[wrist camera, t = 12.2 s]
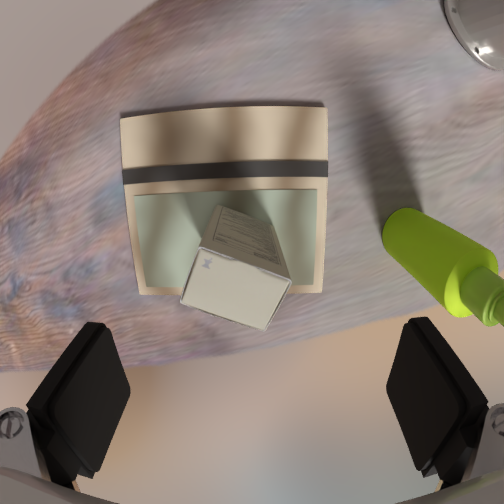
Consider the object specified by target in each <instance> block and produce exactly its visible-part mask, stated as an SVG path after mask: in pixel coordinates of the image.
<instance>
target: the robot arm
mask: <svg viewBox="0 0 504 504" xmlns="http://www.w3.org/2000/svg"><path fill="white" fill-rule="evenodd" d="M444 7H445V13H446V16H447V19H448V22H449V24H450V26H451V28H452V30H453V32H454V34H455V35H456V37H457V39H458V40H459V42H460V43H461V44H462V46H463V47H464V48H465V49H466V51H467V52H468V53H469V54H470V55H471V56H472V57H473V58H474V59H475V60H476V61H478V62H479V63H480V64H482V65H483V66H485V67H487V68H489V69H492V70H504V0H444ZM386 390H387V394H388V397H389V399H390V402H391V404H392V407H393V409H394V412H395V414H396V417H397V419H398V422H399V424H400V427H401V430H402V432H403V435H404V437H405V440H406V443H407V445H408V448H409V451H410V454H411V456H412V459H413V462H414V465H415V467H416V469H417V470H418V471H421V472H422V475H423V477H428V476H430V475H433V474H437V473H438V476H439V478H440V481H439V483H438V485H437V488H436V490H435V492H434V493H430V494H428V495H424V496H421V497H417V498H414V499H411V500H407V501H403V502H400V503H396V504H504V403H502V404H496V405H494V406H492V407H491V408H490V409H489V408H488V406H487V403H488V400H487V399H486V397H485V395H484V394H483V393H482V391H481V389H480V388H479V386H478V385H477V384H476V382H475V381H474V379H473V378H472V377H471V375H470V373H469V372H468V370H467V369H466V368H465V366H464V365H463V363H462V362H461V361H460V359H459V358H458V356H457V355H456V354H455V352H454V351H453V350H452V348H451V347H450V345H449V344H448V343H447V341H446V340H445V339H444V338H443V336H442V335H441V334H440V332H439V331H438V330H437V328H436V327H435V326H434V324H433V323H432V322H431V321H430V320H429V318H428V317H417V318H411V319H410V320H409V321H408V323H406V324H404V326H403V330H402V333H401V337H400V341H399V345H398V348H397V352H396V356H395V359H394V362H393V365H392V369H391V372H390V375H389V378H388V381H387V385H386ZM129 397H130V386H129V383H128V380H127V378H126V375H125V372H124V369H123V366H122V364H121V361H120V358H119V355H118V352H117V349H116V346H115V343H114V340H113V336H112V333H111V331H110V329H109V328H107V327H106V325H105V324H103V323H96V322H87V323H86V324H85V325H84V326H83V328H82V329H81V330H80V331H79V333H78V334H77V335H76V336H75V338H74V339H73V340H72V342H71V343H70V344H69V346H68V347H67V348H66V350H65V351H64V352H63V354H62V355H61V356H60V358H59V359H58V360H57V362H56V363H55V364H54V366H53V367H52V368H51V370H50V371H49V373H48V374H47V375H46V377H45V378H44V380H43V381H42V382H41V384H40V386H39V387H38V388H37V390H36V391H35V393H34V394H33V396H32V397H31V398H30V400H29V401H28V403H27V404H26V406H27V407H28V409H29V410H28V411H27V413H25V412H24V410H22V409H20V408H16V407H11V408H6V409H4V410H2V411H1V412H0V504H118V503H114V502H110V501H107V500H104V499H100V498H96V497H93V496H90V495H87V494H84V493H81V492H80V489H79V487H78V484H77V482H76V477H77V474H79V475H82V476H85V477H88V478H91V479H93V476H94V473H95V472H98V471H99V470H100V468H101V466H102V463H103V460H104V458H105V455H106V453H107V450H108V448H109V445H110V443H111V440H112V438H113V435H114V433H115V430H116V428H117V425H118V423H119V421H120V418H121V416H122V413H123V411H124V409H125V406H126V404H127V401H128V399H129Z"/></svg>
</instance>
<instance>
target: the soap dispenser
mask: <svg viewBox="0 0 504 504" xmlns="http://www.w3.org/2000/svg"><path fill="white" fill-rule="evenodd" d="M382 241H383V245H384V247H385V249H386V251H387V252H388V253H389V254H390V255H391V256H392V257H393V258H394V259H395V260H396V261H397V262H398V263H399V264H401V265H402V266H403V267H404V268H405V269H406V270H407V271H408V272H409V273H410V274H411V275H412V276H413V277H414V278H415V279H416V280H417V281H418V282H419V283H420V284H421V285H422V286H423V287H424V288H425V289H426V290H427V291H428V292H429V293H430V294H431V295H432V296H433V297H434V298H435V299H436V300H437V301H438V302H439V303H440V304H441V305H442V306H443V307H444V308H445V309H446V310H447V311H448V312H449V313H450V314H451V315H453V316H455V317H466V316H469V315H472V314H474V315H475V316H476V317H477V318H478V319H479V320H480V321H481V322H482V323H483V324H484V325H486V326H494V325H496V324H498V323H501V324H502V325H503V326H504V279H502V278H501V277H500V276H498V263H497V259H496V257H495V255H494V254H493V253H492V252H491V251H490V250H489V249H487V248H485V247H484V246H482V245H480V244H478V243H477V242H475V241H473V240H472V239H470V238H468V237H466V236H465V235H463V234H461V233H459V232H457V231H456V230H454V229H452V228H450V227H448V226H446V225H444V224H443V223H441V222H439V221H437V220H435V219H433V218H431V217H429V216H427V215H425V214H423V213H421V212H419V211H417V210H415V209H413V208H402V209H399V210H397V211H396V212H394V213H393V214H392V215H391V216H390V217H389V218H388V220H387V221H386V223H385V225H384V228H383V233H382Z"/></svg>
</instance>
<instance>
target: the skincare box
mask: <svg viewBox="0 0 504 504" xmlns="http://www.w3.org/2000/svg"><path fill="white" fill-rule="evenodd" d="M291 284H292V280H291V277H290V274H289V271H288V268H287V265H286V262H285V259H284V255H283V252H282V249H281V246H280V243H279V240H278V237H277V234H276V231H275V228H274V226H272V225H270V224H268V223H266V222H263V221H261V220H258V219H256V218H254V217H251V216H248V215H246V214H243V213H241V212H238V211H235V210H232V209H230V208H227V207H224V206H221V205H216V207H215V209H214V211H213V213H212V216H211V218H210V220H209V223H208V225H207V227H206V230H205V232H204V234H203V237H202V239H201V242H200V244H199V247H198V249H197V252H196V254H195V257H194V259H193V262H192V264H191V267H190V270H189V273H188V275H187V278H186V281H185V284H184V287H183V291H182V294H181V298H180V303H182V304H184V305H186V306H188V307H191V308H193V309H196V310H198V311H201V312H204V313H206V314H209V315H212V316H215V317H218V318H221V319H224V320H227V321H230V322H233V323H236V324H239V325H242V326H246V327H249V328H253V329H257V330H260V331H265V330H266V329H267V327H268V325H269V323H270V322H271V320H272V319H273V317H274V315H275V314H276V312H277V310H278V308H279V306H280V305H281V303H282V301H283V299H284V297H285V295H286V294H287V292H288V290H289V288H290V286H291Z"/></svg>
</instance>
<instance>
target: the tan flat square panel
mask: <svg viewBox="0 0 504 504" xmlns="http://www.w3.org/2000/svg"><path fill="white" fill-rule="evenodd" d="M120 128H121V149H122V164H123V170H122V174H123V185H124V188H125V198H126V207H127V216H128V224H129V231H130V238H131V245H132V252H133V258H134V264H135V270H136V276H137V282H138V287H139V292H140V295H181V294H182V291H183V287H184V284H185V281H186V278H187V275H188V273H189V270H190V267H191V264H192V262H193V259H194V257H195V254H196V252H197V249H198V247H199V244H200V242H201V239H202V237H203V234H204V232H205V230H206V227H207V225H208V223H209V220H210V218H211V216H212V213H213V211H214V209H215V207H216V205H221V206H224V207H227V208H230V209H232V210H235V211H238V212H241V213H243V214H246V215H248V216H251V217H254V218H256V219H258V220H261V221H263V222H266V223H268V224H270V225H272V226H274V228H275V231H276V234H277V237H278V240H279V243H280V246H281V249H282V252H283V255H284V259H285V262H286V265H287V268H288V271H289V274H290V277H291V280H292V284H291V286H290V288H289V290H288V292H287V294H292V293H320V292H322V282H323V268H324V252H325V234H326V211H327V177H328V122H327V108H322V107H297V106H248V107H223V108H207V109H194V110H183V111H173V112H164V113H156V114H149V115H142V116H135V117H128V118H122V119H120Z"/></svg>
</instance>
